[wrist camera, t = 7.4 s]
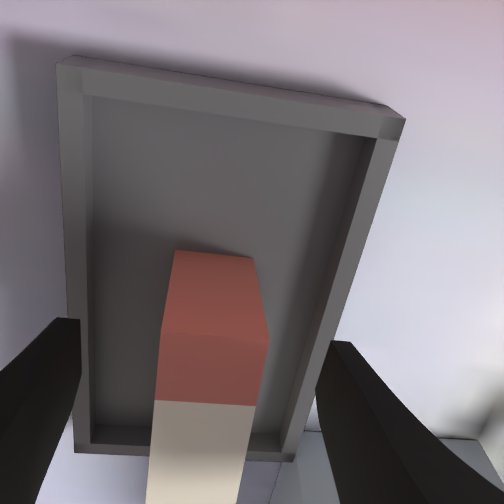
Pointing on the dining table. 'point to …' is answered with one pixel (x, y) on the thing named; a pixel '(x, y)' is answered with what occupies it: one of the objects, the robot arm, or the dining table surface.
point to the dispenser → (321, 478)
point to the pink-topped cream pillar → (206, 379)
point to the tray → (208, 228)
